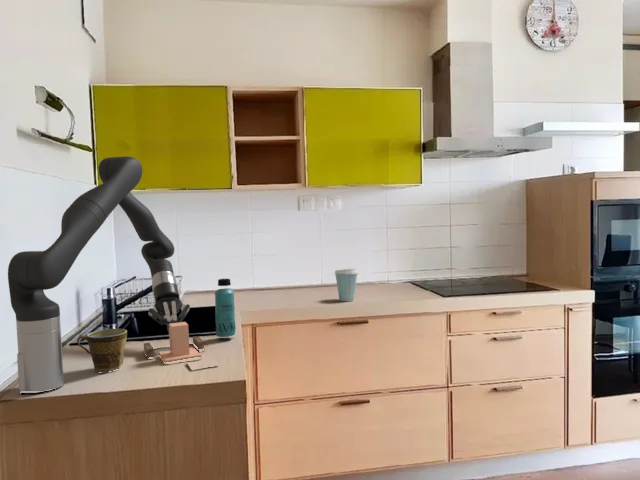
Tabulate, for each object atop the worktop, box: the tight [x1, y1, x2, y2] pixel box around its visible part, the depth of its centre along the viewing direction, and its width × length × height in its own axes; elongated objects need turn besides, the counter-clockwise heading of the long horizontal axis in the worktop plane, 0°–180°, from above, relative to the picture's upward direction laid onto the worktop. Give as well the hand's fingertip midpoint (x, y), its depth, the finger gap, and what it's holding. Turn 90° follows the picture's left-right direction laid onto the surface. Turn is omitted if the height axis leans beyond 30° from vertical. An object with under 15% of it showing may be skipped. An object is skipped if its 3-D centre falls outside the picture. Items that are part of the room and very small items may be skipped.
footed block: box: [158, 321, 202, 363], centre depth 143 cm, size 10×10×10 cm
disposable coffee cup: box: [334, 267, 359, 302], centre depth 230 cm, size 11×11×15 cm
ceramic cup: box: [76, 328, 128, 373], centre depth 134 cm, size 13×10×10 cm
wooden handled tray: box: [143, 335, 205, 358], centre depth 149 cm, size 16×8×3 cm, turn 117°
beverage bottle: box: [214, 278, 237, 338], centre depth 163 cm, size 6×7×20 cm
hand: (174, 333), depth 149 cm, fingers closed
